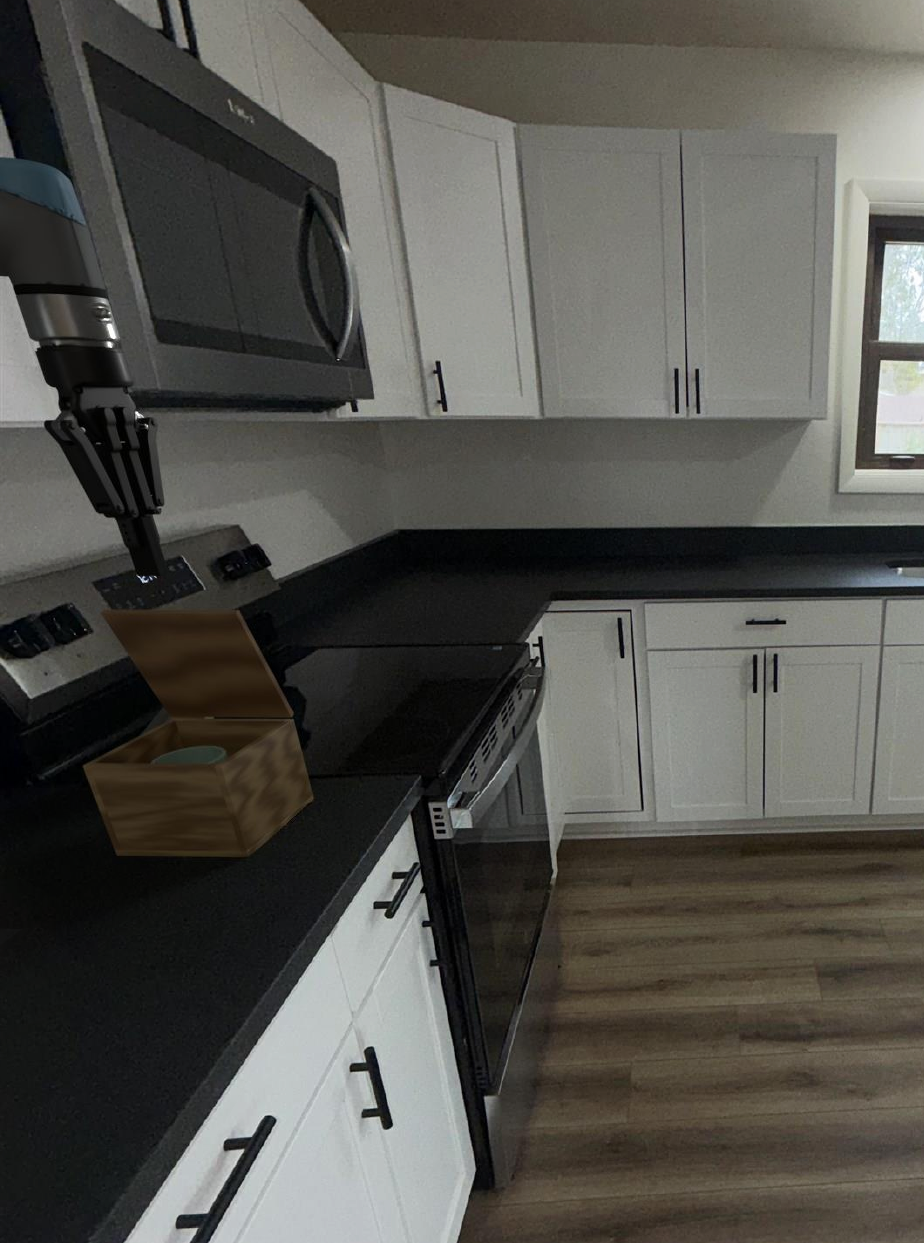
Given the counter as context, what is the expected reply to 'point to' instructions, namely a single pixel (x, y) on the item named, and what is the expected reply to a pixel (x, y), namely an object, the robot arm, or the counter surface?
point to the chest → (201, 788)
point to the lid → (200, 662)
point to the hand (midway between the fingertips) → (153, 574)
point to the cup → (193, 756)
